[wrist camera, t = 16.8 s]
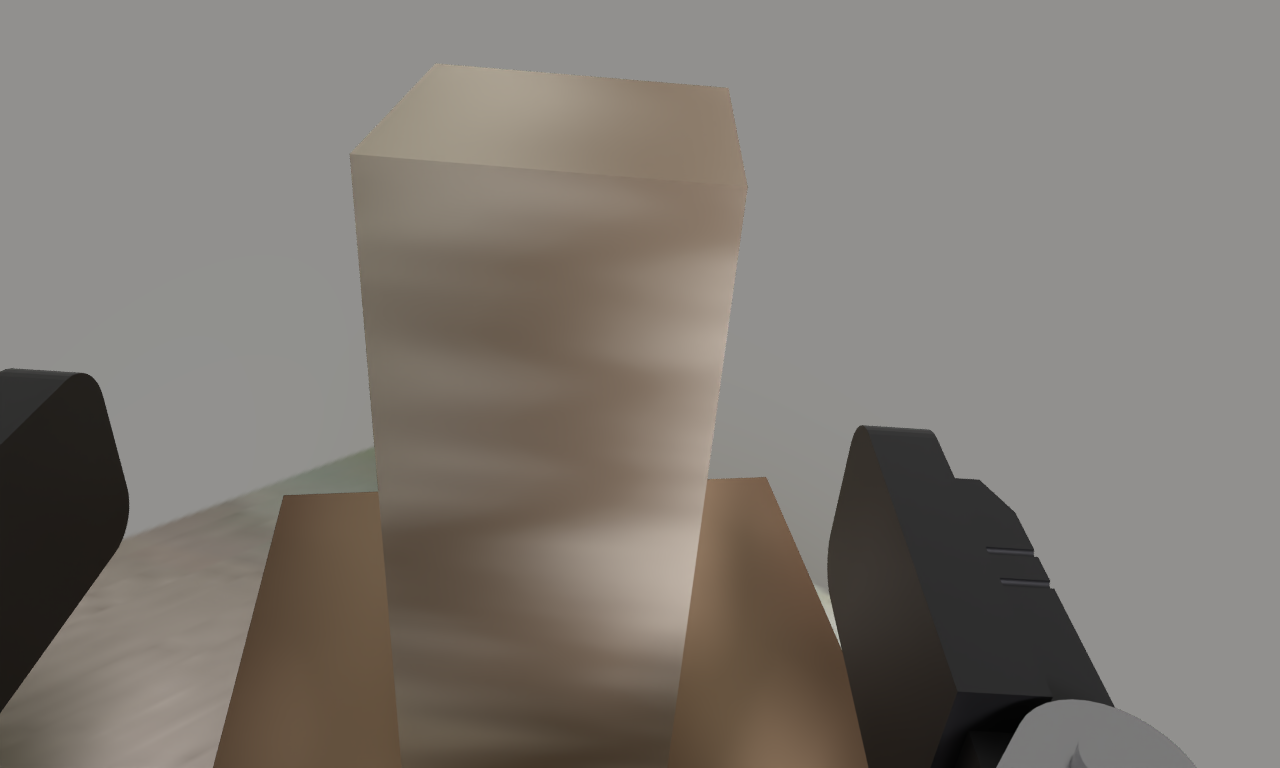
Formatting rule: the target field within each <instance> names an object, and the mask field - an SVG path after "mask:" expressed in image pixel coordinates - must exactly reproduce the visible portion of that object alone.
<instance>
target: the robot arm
mask: <svg viewBox="0 0 1280 768" xmlns="http://www.w3.org/2000/svg"><path fill="white" fill-rule="evenodd" d="M128 515H129V495H128V489H127V485H126V481H125V478H124V474H123V470H122V466H121V462H120V459H119V455H118V451H117V447H116V444H115V440H114V436H113V432H112V428H111V425H110V421H109V417H108V414H107V410H106V406H105V402H104V398H103V395H102V392H101V389H100V387H99V385H98V383H97V382H96V381H95V380H94V378H92V377H91V376H90V375H88V374H85V373H75V372H59V371H58V372H57V371H44V370H28V369H27V370H26V369H13V368H11V369H5V370H3V371H1V372H0V713H1V711H2V710H3V708H4V707H5V706H6V704H7V703H8V701H9V700H10V699H11V697H12V696H13V694H14V693H15V692H16V690H17V689H18V688H19V686H20V685H21V683H22V682H23V681H24V679H25V678H26V676H27V675H28V674H29V672H30V671H31V669H32V668H33V667H34V665H35V664H36V662H37V661H38V660H39V658H40V657H41V655H42V654H43V653H44V651H45V650H46V648H47V647H48V646H49V644H50V643H51V641H52V640H53V639H54V637H55V636H56V634H57V633H58V632H59V630H60V629H61V627H62V626H63V625H64V623H65V622H66V620H67V619H68V618H69V616H70V615H71V614H72V612H73V611H74V609H75V608H76V607H77V605H78V604H79V602H80V601H81V600H82V598H83V597H84V595H85V594H86V593H87V591H88V590H89V588H90V587H91V586H92V584H93V583H94V581H95V580H96V579H97V577H98V576H99V574H100V573H101V572H102V570H103V569H104V567H105V566H106V565H107V563H108V562H109V560H110V559H111V558H112V556H113V555H114V553H115V552H116V550H117V549H118V547H119V545H120V543H121V541H122V539H123V536H124V533H125V530H126V526H127V521H128ZM827 565H828V566H827V567H828V568H827V570H828V587H829V594H830V599H831V603H832V608H833V612H834V617H835V621H836V625H837V630H838V634H839V639H840V643H841V648H842V652H843V657H844V661H845V666H846V670H847V674H848V679H849V683H850V688H851V692H852V697H853V701H854V706H855V710H856V714H857V719H858V723H859V728H860V732H861V737H862V741H863V746H864V750H865V755H866V759H867V763H868V768H1196V766H1195V765H1194V763H1193V762H1192V761H1191V760H1190V759H1189V758H1188V757H1187V755H1186V754H1185V753H1184V752H1183V751H1182V750H1181V749H1180V748H1179V747H1178V746H1177V745H1176V744H1174V743H1173V742H1172V741H1171V740H1170V739H1169V738H1168V737H1166V736H1165V735H1164V734H1162V733H1161V732H1159V731H1158V730H1156V729H1155V728H1154V727H1152V726H1151V725H1149V724H1147V723H1146V722H1144V721H1142V720H1141V719H1139V718H1137V717H1135V716H1133V715H1131V714H1128V713H1126V712H1124V711H1122V710H1119V709H1117V708H1115V707H1114V705H1113V703H1112V701H1111V699H1110V697H1109V695H1108V693H1107V691H1106V689H1105V687H1104V685H1103V683H1102V681H1101V680H1100V677H1099V675H1098V674H1097V672H1096V670H1095V668H1094V666H1093V664H1092V662H1091V660H1090V658H1089V656H1088V654H1087V652H1086V650H1085V648H1084V646H1083V644H1082V642H1081V640H1080V638H1079V636H1078V634H1077V632H1076V631H1075V629H1074V627H1073V625H1072V623H1071V621H1070V619H1069V617H1068V615H1067V613H1066V611H1065V609H1064V607H1063V605H1062V603H1061V601H1060V599H1059V597H1058V596H1057V593H1056V592H1055V589H1050V586H1049V583H1050V580H1049V578H1048V576H1047V574H1046V572H1045V570H1044V568H1043V566H1042V564H1041V562H1040V560H1039V558H1038V557H1034V549H1033V547H1032V545H1031V543H1030V541H1029V539H1028V537H1027V535H1026V533H1025V531H1024V529H1023V527H1022V525H1021V523H1020V521H1019V519H1018V518H1017V516H1016V513H1015V512H1014V511H1013V510H1012V509H1011V508H1010V507H1008V506H1007V505H1006V504H1005V503H1004V502H1003V501H1002V500H1001V499H1000V498H999V497H998V496H996V495H995V494H994V493H993V492H992V491H991V490H990V489H989V488H988V487H986V485H984V484H983V483H982V482H981V481H980V480H974V479H958V478H954V475H953V473H952V471H951V469H950V467H949V464H948V462H947V460H946V458H945V456H944V453H943V451H942V449H941V446H940V444H939V442H938V440H937V438H936V436H935V434H934V433H933V432H932V431H931V430H925V429H910V428H895V427H878V426H863V425H862V426H859V427H858V428H857V430H856V432H855V433H854V436H853V439H852V442H851V446H850V451H849V455H848V459H847V464H846V468H845V473H844V478H843V482H842V486H841V490H840V495H839V500H838V504H837V508H836V513H835V517H834V522H833V526H832V530H831V535H830V540H829V548H828V563H827Z"/></svg>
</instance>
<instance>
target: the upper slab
mask: <svg viewBox="0 0 1280 768" xmlns="http://www.w3.org/2000/svg"><path fill="white" fill-rule="evenodd" d="M213 768H402V766H401V755H400V743H399V731H398V719H397V707H396V695H395V684H394V672H393V660H392V648H391V636H390V625H389V613H388V601H387V589H386V577H385V565H384V554H383V542H382V530H381V518H380V506H379V494H378V492H360V493H333V494H307V495H284V496H283V500H282V504H281V508H280V512H279V515H278V519H277V523H276V527H275V531H274V535H273V539H272V542H271V546H270V550H269V554H268V558H267V562H266V566H265V569H264V573H263V577H262V581H261V585H260V589H259V593H258V596H257V600H256V604H255V608H254V612H253V616H252V620H251V623H250V627H249V631H248V635H247V639H246V643H245V647H244V650H243V654H242V658H241V662H240V666H239V670H238V674H237V677H236V681H235V685H234V689H233V693H232V697H231V701H230V704H229V708H228V712H227V716H226V720H225V724H224V728H223V731H222V735H221V739H220V743H219V747H218V751H217V755H216V758H215V762H214V766H213ZM667 768H868V763H867V759H866V755H865V750H864V746H863V741H862V737H861V732H860V728H859V723H858V719H857V714H856V710H855V706H854V701H853V697H852V692H851V688H850V683H849V679H848V674H847V670H846V666H845V661H844V657H843V652H842V649H841V647H840V645H839V643H838V640H837V638H836V636H835V633H834V631H833V629H832V627H831V624H830V622H829V620H828V617H827V615H826V613H825V611H824V608H823V606H822V604H821V601H820V599H819V597H818V595H817V592H816V590H815V588H814V585H813V583H812V581H811V579H810V576H809V574H808V572H807V569H806V567H805V565H804V563H803V560H802V558H801V556H800V554H799V551H798V549H797V547H796V544H795V542H794V540H793V537H792V535H791V533H790V531H789V528H788V526H787V524H786V522H785V519H784V517H783V515H782V512H781V510H780V508H779V506H778V503H777V501H776V499H775V496H774V494H773V492H772V489H771V487H770V485H769V483H768V480H767V478H766V477H758V478H733V479H732V478H731V479H707V485H706V492H705V499H704V506H703V514H702V521H701V528H700V535H699V543H698V550H697V557H696V564H695V572H694V579H693V586H692V593H691V600H690V608H689V615H688V622H687V629H686V637H685V644H684V651H683V658H682V666H681V673H680V680H679V687H678V695H677V702H676V709H675V716H674V724H673V731H672V738H671V745H670V753H669V760H668V767H667Z"/></svg>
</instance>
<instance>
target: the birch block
mask: <svg viewBox="0 0 1280 768" xmlns="http://www.w3.org/2000/svg"><path fill="white" fill-rule="evenodd" d="M350 162H351V174H352V185H353V186H352V187H353V199H354V209H355V222H356V234H357V246H358V258H359V270H360V282H361V293H362V305H363V317H364V329H365V340H366V352H367V363H368V375H369V388H370V400H371V411H372V423H373V435H374V447H375V459H376V471H377V483H378V494H379V506H380V518H381V530H382V542H383V554H384V565H385V577H386V589H387V601H388V613H389V625H390V636H391V648H392V660H393V672H394V684H395V695H396V707H397V719H398V731H399V743H400V755H401V766H402V768H667V767H668V760H669V753H670V745H671V738H672V731H673V724H674V716H675V709H676V702H677V695H678V687H679V680H680V673H681V666H682V658H683V651H684V644H685V637H686V629H687V622H688V615H689V608H690V600H691V593H692V586H693V579H694V572H695V564H696V557H697V550H698V543H699V535H700V528H701V521H702V514H703V506H704V499H705V492H706V485H707V477H708V469H709V463H710V456H711V448H712V440H713V434H714V426H715V419H716V412H717V405H718V398H719V391H720V383H721V376H722V369H723V361H724V354H725V347H726V340H727V333H728V325H729V318H730V310H731V304H732V296H733V289H734V282H735V274H736V267H737V260H738V252H739V245H740V238H741V231H742V224H743V217H744V210H745V202H746V195H747V188H748V186H747V181H746V176H745V171H744V166H743V161H742V155H741V151H740V145H739V140H738V135H737V130H736V125H735V120H734V115H733V110H732V104H731V99H730V94H729V89H728V88H723V87H711V86H699V85H687V84H674V83H663V82H651V81H638V80H627V79H615V78H602V77H592V76H580V75H567V74H556V73H543V72H531V71H519V70H508V69H495V68H483V67H472V66H460V65H448V64H435V65H434V66H433V67H432V68H431V69H430V70H429V71H428V72H427V73H426V74H425V75H424V76H423V77H422V78H421V79H420V80H419V81H418V83H417V84H416V85H415V86H414V87H413V88H412V89H411V90H410V91H409V92H408V93H407V94H406V95H405V96H404V97H403V98H402V99H401V100H400V101H399V103H398V104H397V105H396V106H395V107H394V108H393V109H392V110H391V111H390V112H389V113H388V114H387V115H386V116H385V117H384V118H383V119H382V121H380V123H379V124H378V125H377V126H376V127H375V128H374V129H373V130H372V131H371V132H370V133H369V134H368V135H367V136H366V137H365V138H364V139H363V140H362V142H361V143H360V144H359V145H358V146H357V147H356V148H355V149H354V150H353V151H352V152H351V153H350Z"/></svg>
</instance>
